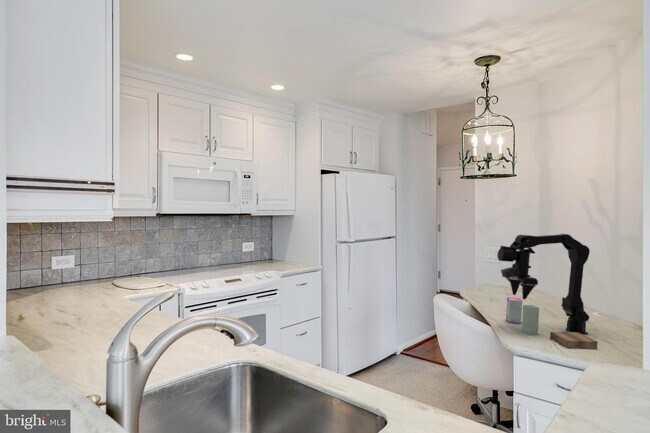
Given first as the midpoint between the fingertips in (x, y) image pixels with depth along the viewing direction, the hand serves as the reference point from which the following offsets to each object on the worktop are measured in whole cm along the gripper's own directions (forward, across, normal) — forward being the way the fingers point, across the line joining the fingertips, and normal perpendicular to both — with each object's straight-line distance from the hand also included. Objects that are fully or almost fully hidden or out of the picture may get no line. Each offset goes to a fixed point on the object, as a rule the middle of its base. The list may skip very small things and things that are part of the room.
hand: (519, 296), depth 183 cm
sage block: (+15, +4, +4) cm, 16 cm away
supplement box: (+15, -14, +6) cm, 22 cm away
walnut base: (+14, +17, +15) cm, 27 cm away
